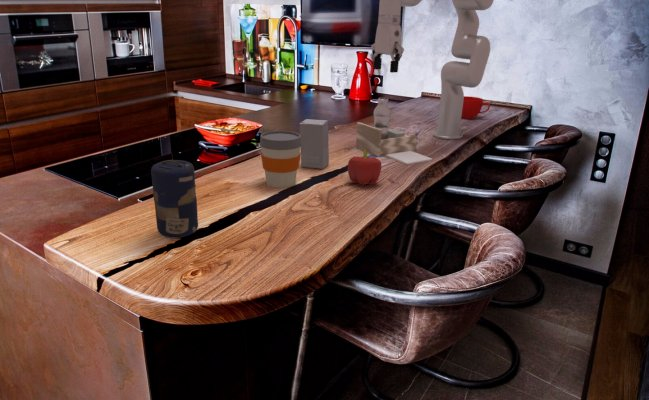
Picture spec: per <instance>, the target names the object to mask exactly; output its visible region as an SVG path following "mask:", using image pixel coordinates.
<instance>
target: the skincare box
mask: <svg viewBox="0 0 649 400" xmlns="http://www.w3.org/2000/svg"><path fill="white" fill-rule="evenodd" d="M299 134H300V135H301V144H302V145H301V146H300V154H301V155H300V164H301V165H300V167H301V168H307V169H308V168H309V169H317V170H318V169H319V170H320V169H321V170H323V169H325V168H326V167H327V166H328V165H329V163H330V158H329V155H330V154H329V153H330V150H329V120H328V119H327V120H326V119H324V120H323V119H312V118H310V119H309V118H306V119H304V120H303V121H300V122H299Z"/></svg>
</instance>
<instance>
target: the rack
mask: <svg viewBox="0 0 649 400" xmlns="http://www.w3.org/2000/svg"><path fill="white" fill-rule="evenodd" d="M388 129H395V128H394V127H391V128H390V127H389V128H388ZM381 134H382V130H381V129H378V128H375V127H374V126H371V125H368V124H365V123H362V122H360V121H359V122H356V137H355V139H356V140H355V148H356V149H359V150H360V151H363V149H366V150H367V154H371V155H373V156H374V157H375V156H376V157H378V158H379V157H382V156H383V157H384V156H385V157H386V155H387V154H393V153H400V152H406V151H413V152H416V151H417V150H418V149H417V147H418V142H416V137H417V136H416V135H415V134H412V135H405V136H404V137H397V138H390V139H383V140H381Z"/></svg>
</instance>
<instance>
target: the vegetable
mask: <svg viewBox="0 0 649 400" xmlns="http://www.w3.org/2000/svg"><path fill="white" fill-rule="evenodd" d="M362 151H363V156H355V155H354V156H352V157H350V159H349V160H348V163H347V173H348V178H349V179H350V181H351V182H352V183H354V184H360V185H366V184H367V185H374V184H375V183H377V181H378V180H379V178H380V176H381V173H382V162H381V160H380V159H379V158H376V157H375V156H374V157H368V152H367V150H366V149H363V150H362Z"/></svg>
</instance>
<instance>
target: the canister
mask: <svg viewBox="0 0 649 400" xmlns="http://www.w3.org/2000/svg"><path fill="white" fill-rule="evenodd" d="M195 173H196V172H195V167H194V165H193V163H191V162H189V161H187V160H180V159H179V160H178V159H170V160H169V159H168V160H163V161H159V162H156V163H155V164H153V165H152V166H151V169H150V175H151V183H152V184H151V186H152V193H153V194H152V195H153V202H154V211H155V220H156V229H157V232H158V234H160V235H161V236H163V237H167V238H173V239H175V238H177V239H178V238H179V239H180V238H184V237H187V236H190V235H192V234H194V233H195V232H196V231H197V230H198V229H199V228H198V227H199V219H198V218H199V217H198V200H197V192H196V186H197V184H196V179H195Z"/></svg>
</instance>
